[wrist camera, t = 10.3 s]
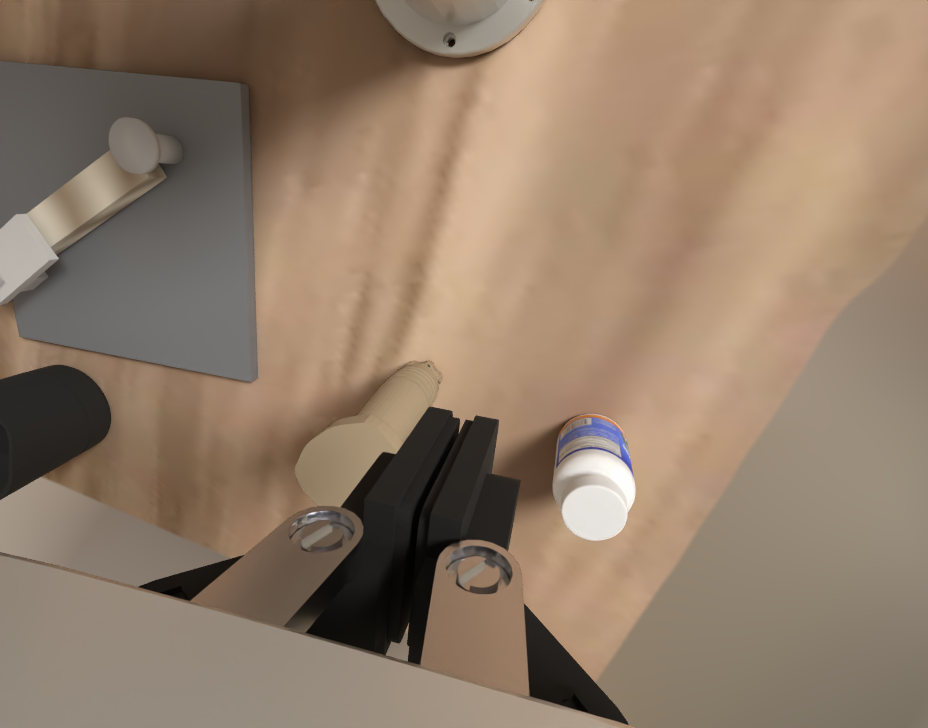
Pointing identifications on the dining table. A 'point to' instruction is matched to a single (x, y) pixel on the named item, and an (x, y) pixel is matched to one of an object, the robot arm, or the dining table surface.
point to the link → (90, 201)
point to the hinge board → (133, 216)
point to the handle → (366, 435)
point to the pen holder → (47, 422)
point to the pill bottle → (593, 477)
